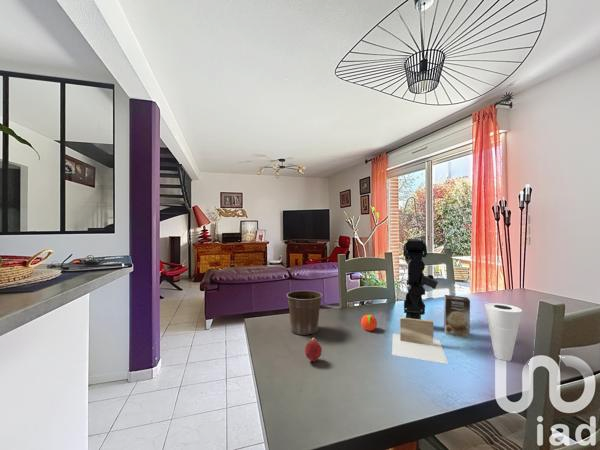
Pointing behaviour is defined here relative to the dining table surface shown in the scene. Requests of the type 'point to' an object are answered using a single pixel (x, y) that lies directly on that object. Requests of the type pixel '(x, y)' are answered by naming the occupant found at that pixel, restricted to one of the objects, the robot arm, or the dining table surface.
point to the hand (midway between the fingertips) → (415, 306)
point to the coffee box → (457, 316)
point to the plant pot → (304, 311)
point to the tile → (416, 331)
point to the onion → (313, 350)
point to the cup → (503, 328)
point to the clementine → (368, 322)
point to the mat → (418, 350)
